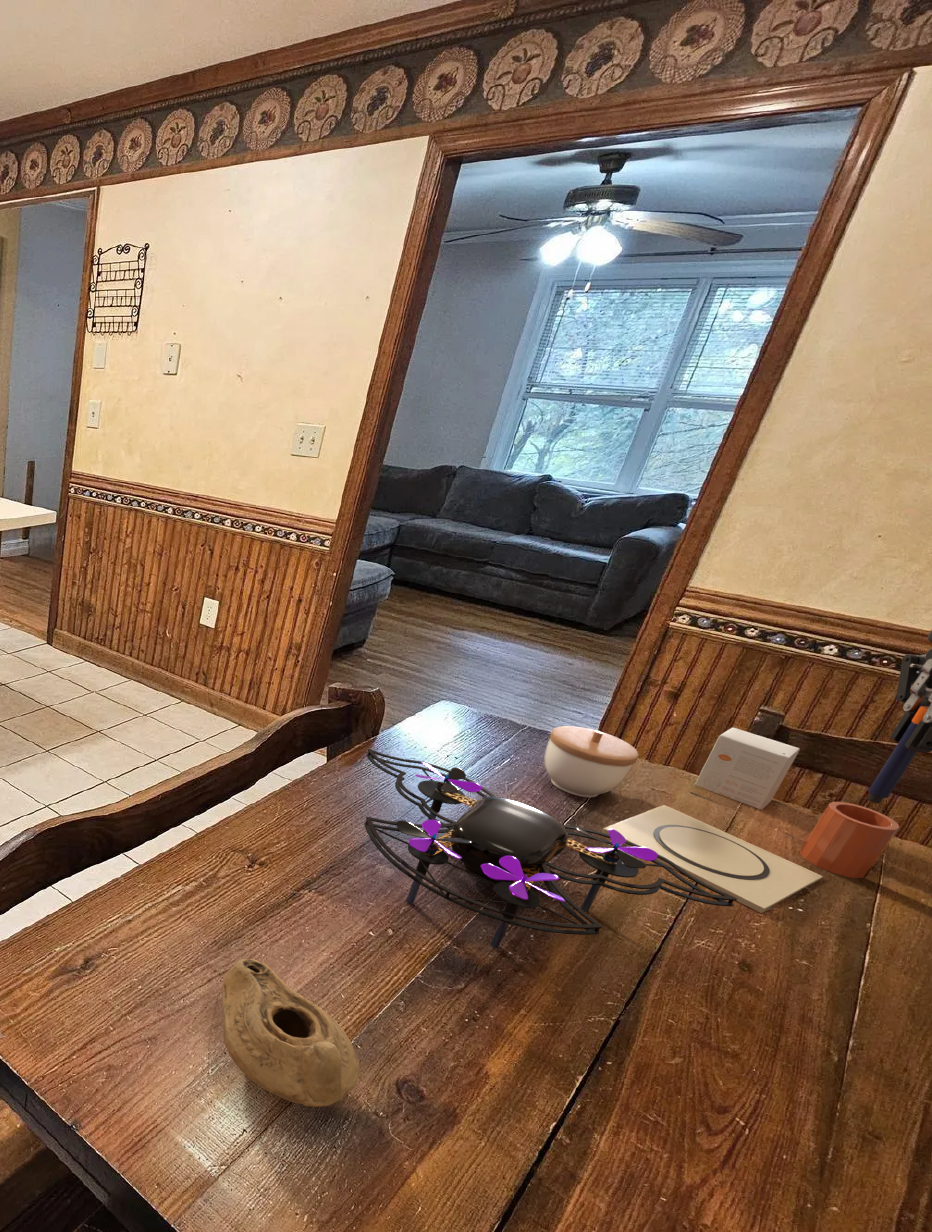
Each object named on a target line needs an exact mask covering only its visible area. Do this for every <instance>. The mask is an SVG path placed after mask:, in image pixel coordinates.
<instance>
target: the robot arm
mask: <svg viewBox="0 0 932 1232" xmlns="http://www.w3.org/2000/svg"><path fill="white" fill-rule="evenodd" d="M927 640H928V642H930V643H931V644H932V629H931V630H930V631H929V633H928V634H927ZM900 665H901V666H900V670H899V676H898V677H899V678H898V683H897V689H896V695H895V699H896V701H898V702H902V703H903V706H902V710H904V713H903V714H902V716H901V718H900V720H899V721H898V723H897V724H896V725H895V727H894V729H893V732H892V733H891V735H890V739H892V740H893V741H895V742H897V743H899V741H900V739H901V738H902V736H903V735H904V733H905V731H906V730H907V728H908V727H909V725H910V723H911V722H912V719H913V717H914V716H915V714H916V713H917V711H918V709H919V708H920V706H929V708H928V710H927V712H926V713H925V715H924V717H923V721H920V722H919V724H918V725H917V727H916V728H915V730H914V731H913V733H912V734H911V736H910V738H909V739H908V741H907V742H906V744H905V747H906V748H907V749H909V750H911V751H916V752H917V753H922V754H929V753H931V752H932V647H931V648H930V649H928V650H927V651H926V653H925V654H920V655H919V654H911V653H906V654H905V655H904V656H903V657H902V659H901V664H900Z"/></svg>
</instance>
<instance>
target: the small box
mask: <svg viewBox="0 0 932 1232" xmlns="http://www.w3.org/2000/svg"><path fill="white" fill-rule="evenodd" d="M799 753H800V747H796V746H793V745H790V744H786V743H784V742H781V741H778V740H774V739H772V738H767V737H765V736H762V735H758V734H755V733H752V732H749V731H746V730H742V729H739V728H737V727H730V728H729V729H727V730H726V731H724V732H723V733H721V734H720V735H719V736H718V737H717V739H716V742H715V743H714V746H713V748H712V750H711V751H710V753H709V756H708V757H707V759H706V761H705V763H704V765H703V767H702V769H701V771H700V773H699V775H698V777H697V779H696V781H695V783H694V786H697V787H699V788H702V789H704V790H707V791H710V792H713V793H714V794H715V793H716V794H718V795H721V796H724V797H727V798H729V799H731V800H734V801H737V802H739V803H741V804H745V805H747V806H749V807H751V808H756V809H758V810H763V809H764V808H765V807H767V806H768V805H769V804H770V803H771V802H772V801H773V799H774V797H775V795H776V793H777V791H778V790H779V788H780V786H781V784H782V783H783V781H784V778H785V777H786V775H787V773H788V772H789V770H790V768H791V766H792V765H793V763H794V761H795V760H796V757H797V755H798V754H799ZM689 792H690V794H692V795H694V796H695V797H696V796H697V797H699V798H702V799H704V800H707V801H709V802H712V803H714V804H718V805H719V803H718V802H715V801H714V800H711V799H709V798H706V797H704V796H702V795H699V794H697V793H694V792H692V791H689ZM721 806H722V807H724V805H722V804H721Z"/></svg>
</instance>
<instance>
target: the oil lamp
mask: <svg viewBox="0 0 932 1232" xmlns="http://www.w3.org/2000/svg"><path fill="white" fill-rule="evenodd" d="M221 991H222V992H221V994H222V997H221V999H222V1000H221V1001H222V1002H221V1003H222V1004H221V1005H222V1007H221V1008H222V1021H223V1023H222V1030H223V1031H222V1032H223V1034H222V1035H223V1042H224V1045H225V1048H226V1050H227V1052H228V1054H229V1056H230V1058H231V1060H232V1061H233V1063H234V1064H235V1065H236V1067H237V1068H238V1069H239V1070H240V1071H241V1072H242V1073H243V1074H244V1075H245V1076H246V1077H247V1078H248V1079H250V1080H251V1081H253V1083H255V1084H256V1085H257V1086H258V1087H260V1088H262V1090H265V1091H267V1092H269V1093H270V1094H273V1095H274V1096H277V1097H279V1098H281V1099H282V1100H283V1099H284V1100H285V1101H289V1102H291V1103H294V1104H299V1105H304V1106H306V1107H312V1108H313V1107H317V1108H319V1107H320V1108H321V1107H327V1106H330V1105H332V1104H334V1103H336V1102H342V1101H343V1100H344V1096H345V1095H346V1094H348V1093H349V1092H350V1091H352V1090H353V1089H354V1088H355V1087H356V1085H357V1083H358V1080H359V1076H360V1060H359V1059H358V1058H359V1057H358V1056H357V1053H356V1051H355V1048H354V1045H353V1044H352V1042H351V1039H350V1038H349V1036H348V1035H347V1033H346V1032H345V1030H344V1029H343V1027H342V1025H340V1024H339V1023H338V1022H337V1021H336V1020H335V1019H334V1018H333V1017H332V1016H330V1015H329V1014H328V1013H327V1012H326V1011H325V1010H324V1009H322V1008H321V1007H319V1006H318V1005H317V1004H315V1003H313V1002H312V1001H310V1000H309V999H307V998H306V997H305V996H302V995H301V994H299V993H298V992H296V991H295V990H293V989H292V988H291V987H290V986H289V985H287V984H286V983H285V982H284V981H283V980H282V979H281V978H280V977H279V976H278V974H276V972H274V970H273V969H272V968H270V967H269V966H268V965H267V964H266V963H263V962H261V961H258V960H256V959H247V958H243V959H239V960H238V961H236V962H235V964H234V965H233V966H232V967H230V968H229V970H228V971H227V972H226V973H225V974H224V979H223V981H222V990H221Z"/></svg>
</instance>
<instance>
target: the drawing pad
mask: <svg viewBox="0 0 932 1232" xmlns="http://www.w3.org/2000/svg"><path fill="white" fill-rule="evenodd" d="M609 829H614V830H616V831H618V832H619V833H621V834H622V835H623V836H624V838H625V839H626V841H629V842H631V843H634V844H636V845H639V846H641V847H645V848H649V849H652V850H654V851H655V852H656V853H658V854H659V855H661V856H663V857H665V858H667V859H668V860H670V861H672V862H673V863H675V864H676V865H677V866H679V867H680V868H681V869H683V870H684V871H685V872H687V873H688V874H690V875H691V876H693V877H695V878H696V879H698V880H700V881H701V882H703V883H705V884H707V885H709V886H711V887H713V888H715V889H717V890H719V891H721V892H724V893H726V894H728V895H731V896H733V897H735V898H737V900H736V902H738V903H740V904H741V905H744V906H745V907H748V908H750V909H752V910H753V911H756V912H757V913H759V914H763V913H766V912H767V911H769V910H771V909H772V908H773V906H776V905H777V904H779V903H780V902H782V901H784V900H786V899H788V898H790V897H791V896H794V895H795V894H797V893H799V892H801V891H802V890H804V889H806V888H808V887H810V886H812V885H813V884H815V883H817V882H818V881H821V880H822V879H823V878H824V876H823V875H822V874H819V873H817V872H814V871H812V870H810V869H808V868H805V867H803V866H801V865H799V864H797V863H795V862H793V861H790V860H787V859H786V858H783V857H781V856H779V855H778V854H775V853H772V852H770V851H768V850H766V849H763V848H761V847H759V846H757V845H754V844H752V843H750V842H748V841H746V840H744V839H741V838H739V837H736V836H735V835H732V834H730V833H728V832H726V831H723V830H721V829H719V828H717V827H714V826H713V825H710V824H708V823H706V822H704V821H701V820H699V819H697V818H695V817H693V816H690V815H688V814H687V813H683V812H681V811H679V810H677V809H675V808H672V807H670V806H668V805H666V804H663V805H660V806H658V807H655V808H652V809H650V810H647V811H645V812H642V813H639V814H637V815H634V816H631V817H629V818H626V819H623V820H621V821H618V822H616V823H613V824H611V825H608V826H606V827H603V828H602V829H601V833H605V834H608V835H609V832H608V830H609ZM623 845H624V846H626V847H633V846H630V845H628V844H625V843H624V844H623ZM656 860H657V861H659V862H660V863H662V864H664V865H666V866H668V867H669V868H671V869H672V870H673V871H675V872H677V873H678V872H679V871H678V870H676V869H675V868H674V867H672V866H671V865H670V864H668V863H667V862H665V861H663V860H661V859H659V858H657V859H656ZM679 873H680V872H679Z"/></svg>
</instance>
